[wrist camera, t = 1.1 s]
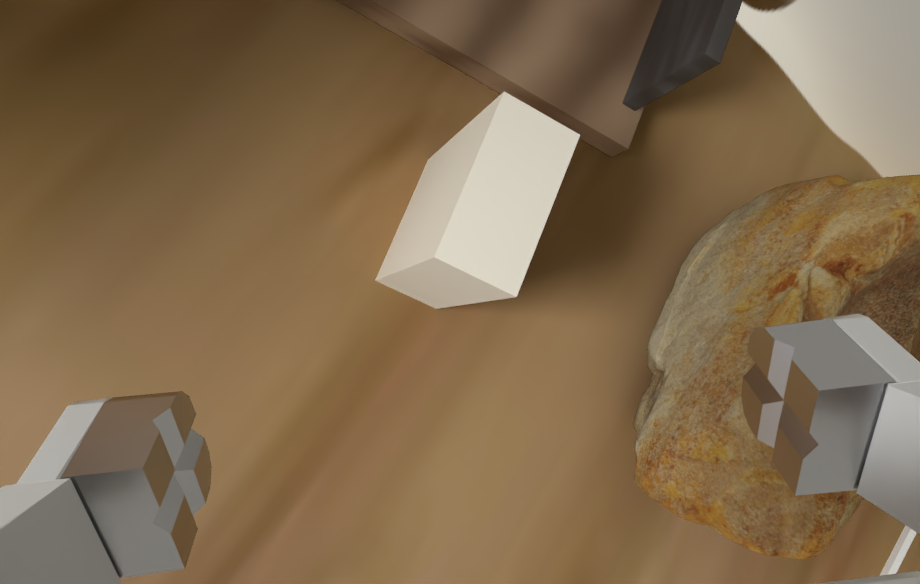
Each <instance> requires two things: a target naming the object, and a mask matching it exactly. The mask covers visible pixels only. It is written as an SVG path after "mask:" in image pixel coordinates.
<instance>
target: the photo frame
mask: <svg viewBox="0 0 920 584" xmlns="http://www.w3.org/2000/svg"><path fill="white" fill-rule="evenodd" d="M916 533H917V532H915V531H914V530H912V529H911V528H909V527H908V526H906V525H905V527H904V529H903V531H902V533H901V535H900V537H899V539H898V541H897V543H896V545H895V547H894V549H893V550H892V552H891V554H890V556H889V558H888V560H887V562H886V564H885V566H884V568H883V570H882V572H881V574H880V576H881V575H889V574H896V572H897V570H898V569H899V567H900V565H901V563H902V561H903V559H904V557H905V555H906V553H907V551H908V549H909V547H910V545H911V543H912V541H913V539H914V537H915V535H916Z"/></svg>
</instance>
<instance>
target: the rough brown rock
mask: <svg viewBox="0 0 920 584" xmlns="http://www.w3.org/2000/svg"><path fill="white" fill-rule="evenodd" d="M851 314H861V315H864V316H867V317H869V318H870V319H871V320H872V321H873V322H874V323H876V324H877V325H878V326H879V327H880V328H881V329H882V330H884V331H885V332H886V333H887V334H888V335H889V336H890V337H892V338H893V339H894V340H895V341H896V342H897V343H898V344H900V345H901V346H902V347H903V348H904V349H905V350H906V351H907V352H909V353H910V354H911V347H912V345H913V340H914V336H915V332H916V330H917V328H918V326H919V324H920V175H911V176H910V175H909V176H897V177H885V178H879V179H871V180H863V181H860V182H850V181H848V180H846V179H844V178H842V177H841V176H839V175H838V176H827V177H823V178H818V179H813V180H808V181H801V182H796V183H791V184H787V185H783V186H779V187H776V188H774V189H772V190H769V191H767V192H764V193H762V194H761V195H759V196H758V197H757V198H755V199H754V200H752V201H751V202H750V203H748V204H746V205H745V206H743V207H741V208H740V209H737V210H733V211H732V212H731V213H730V214H729V215H727V216H726V217H725V218H724V219H723V220H722V221H721V222H720V223H718V224H717V225H716V226H715V227H713V228H712V229H711V230H709V231H708V232H707V233H706V234H705V235H703V236H702V237H701V238H700V240H699V241H698V242H697V243H696V244H695V245H694V246H693V248H692V250H691V251H690V253H689V255H688V256H687V258H686V259H685V261H684V262H683V264H682V265H681V268H680V271H679V274H678V276H677V278H676V281H675V284H674V288H673V290H672V292H671V293H670V295H669V297H668V299H667V301H666V303H665V305H664V307H663V310H662V313H661V315H660V317H659V319H658V321H657V323H656V326H655V328H654V330H653V332H652V333H651V336H650V341H649V344H648V348H647V351H648V368H649V370H650V371H651V373H652V376H651V382H650V385H649V387H648V388H647V390H646V391H645V392H644V394H643V396H642V398H641V400H640V403H639V406H638V409H637V412H636V415H635V418H634V422H633V425H634V428H635V430H636V432H637V434H638V436H637V438H636V440H635V447H636V469H635V476H634V480H635V482H636V484H637V485H638V486H639V487H640V488H641V489H642V490H643V491H644V492H645V493H646V494H647V495H649V496H650V497H651V498H653V499H654V500H656V501H657V502H659V503H660V504H662V505H663V506H665V507H666V508H668V509H669V510H671V511H672V512H673V513H675V514H676V515H678V516H679V517H681V518H684V519H686V520H689V521H692V522H695V523H699V524H703V525H708V526H710V527H711V528H713V529H714V530H716V531H717V532H719V533H720V534H721V535H723V536H724V537H726V538H728V539H730V540H732V541H734V542H736V543H738V544H740V545H741V546H743V547H746V548H748V549H750V550H753V551H755V552H758V553H761V554H764V555H767V556H777V555H778V556H782V557H787V558H794V559H802V560H804V559H808V558H812V557H815V556H817V555H818V554H819V553H821V552H822V551H824V550H825V549H826V548H827V546H828V545H829V544H830V543H831V542H832V541H833V539H834V535H835V533H836V532H837V531H838V530H839V529H840V528H841V527H842V526H843V525H844V524H845V523H847V522H848V520H849V519H850V518H851V516H852V515H853V513H854V512H855V511H856V509H857V508H858V506H859V504H860V502H861V500H863V499H865V498H863V497H862V496H860V495H859V494H857V493H856V492H857V490H852V491H841V492H830V493H819V494H809V495H798V496H795V495H794V493H793V492H792V490H791V489H790V488H789V486H788V485H787V483H786V482H785V480H784V479H783V477H782V476H781V474H780V473H779V471H778V470H777V468H776V467H775V465H774V464H773V462H772V456H773V451H774V448H772V447H771V446H769V445H767V444H765V443H763V442H761V441H760V440H758V439H757V438H756V437H755V435H754V434H753V432H752V431H751V429H750V427H749V425H748V423H747V420H746V418H745V415H744V411H743V405H742V398H741V392H742V383H743V376H744V375H745V374H746V373H747V372H748V371H749V370H750V369H751V368H752V366H753V365H754V364H755V362H754V360H753V359H752V358H751V356H750V355H749V354H748V352H747V350H748V344H749V338H750V336H751V334H752V332H753V330H754V328H757V327H765V326H774V325H782V324H790V323H798V322H806V321H814V320H822V319H824V318H830V317H837V316H844V315H851ZM911 355H912V354H911Z"/></svg>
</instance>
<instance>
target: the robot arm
mask: <svg viewBox="0 0 920 584" xmlns="http://www.w3.org/2000/svg"><path fill="white" fill-rule="evenodd" d="M747 352H748V354H749V355H750V356H751V358H752V359H753V360H754V362H755V364H754V365H753V366H752V368H751V369H750V370H749V371H748V372H747V373H746V374H745V375H744V376H743V383H742V392H741V398H742V405H743V411H744V415H745V418H746V420H747V423H748V425H749V427H750V429H751V431H752V432H753V434H754V435H755V437H756V438H757V439H758V440H760V441H761V442H763V443H765V444H767V445H769V446H771V447H772V448H774V451H773V456H772V462H773V464H774V465H775V467H776V468H777V470H778V471H779V473H780V474H781V476H782V477H783V479H784V480H785V482H786V483H787V485H788V486H789V488H790V489H791V490H792V492H793V493H794V495H795V496H798V495H809V494H819V493H830V492H841V491H852V490H857V492H856V493H857V494H859V495H860V496H862V497H863V498H865V499H866V500H868V501H869V502H871V503H872V504H874V505H876V506H877V507H879V508H880V509H882V510H883V511H885V512H886V513H888V514H889V515H891V516H892V517H894V518H895V519H897V520H898V521H900V522H901V523H903V524H905V525H906V526H908V527H909V528H911V529H912V530H914V531H915V532H917V533H918V534H920V362H919V361H918V360H917V359H915V358H914V357H913V356H912V355H911V354H910V353H909V352H907V351H906V350H905V349H904V348H903V347H902V346H901V345H900V344H898V343H897V342H896V341H895V340H894V339H893V338H892V337H890V336H889V335H888V334H887V333H886V332H885V331H884V330H882V329H881V328H880V327H879V326H878V325H877V324H876V323H874V322H873V321H872V320H871V319H870V318H869V317H867V316H864V315H861V314H851V315H844V316H837V317H830V318H824V319H822V320H814V321H806V322H798V323H790V324H782V325H774V326H765V327H757V328H754V330H753V332H752V334H751V336H750V338H749V344H748V350H747ZM195 416H196V413H195V410H194V407H193V405H192V402H191V400H190V397H189V396H188V395H187V394H185V393H184V392H182V391H179V392H168V393H157V394H146V395H135V396H124V397H113V398H111V399H110V398H104V399H95V400H86V401H77V402H75V403H73V404H70V405H68V406H67V407H66V409H65V410H64V412H63V413H62V415H61V417H60V418H59V420H58V421H57V423H56V424H55V426H54V427H53V429H52V430H51V432H50V433H49V435H48V436H47V438H46V439H45V441H44V442H43V444H42V446H41V447H40V449H39V450H38V452H37V453H36V455H35V456H34V458H33V459H32V461H31V462H30V464H29V465H28V467H27V468H26V470H25V471H24V473H23V475H22V476H21V478H20V479H19V481H18V482H17V484H14V485H6V486H3V487H2V488H0V584H119V583H120V582H121V580H120V578H126V577H132V576H139V575H146V574H153V573H160V572H166V571H173V570H180V569H185V567H186V564H187V561H188V558H189V554H190V551H191V548H192V545H193V542H194V539H195V536H196V533H197V529H198V528H197V526H196V523H195V520H194V518H193V515H194V514H195V513H196V512H197V511H198V510H199V509H200V508H201V507H203V506H204V505H205V504H206V501H207V497H208V494H209V490H210V484H211V462H210V455H209V450H208V447H207V444H206V441H205V438H203V437H202V436H201V435H199V434H198V433H197V432H195V431H194V430H192V429H191V427H192V424H193V421H194V419H195ZM817 584H920V571H913V572H905V573H897V574H889V575H881V576H873V577H865V578H857V579H849V580H841V581H833V582H825V583H817Z"/></svg>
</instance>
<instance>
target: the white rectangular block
mask: <svg viewBox="0 0 920 584" xmlns="http://www.w3.org/2000/svg"><path fill="white" fill-rule="evenodd" d="M579 137H580V134H578V133H576V132H574V131H573V130H571V129H569V128H567V127H566V126H564V125H562V124H560V123H559V122H557V121H555V120H553V119H552V118H550V117H548V116H546V115H545V114H543V113H541V112H539V111H538V110H536V109H534V108H532V107H531V106H529V105H527V104H525V103H524V102H522V101H520V100H518V99H517V98H515V97H513V96H511V95H510V94H508V93H506V92H503V93H502V94H501V95H500V96H498V97H497V98H496V99H495V100H494V101H493V102H492V103H491V104H490V105H488V106H487V107H486V108H485V109H484V110H483V111H482V112H481V113H479V114H478V115H477V116H476V117H475V118H474V119H473V120H472V121H471V122H469V123H468V124H467V125H466V126H465V127H464V128H463V129H462V130H461V131H459V132H458V133H457V134H456V135H455V136H454V137H453V138H452V139H450V140H449V141H448V142H447V143H446V144H445V145H444V146H443V147H442V148H440V149H439V150H438V151H437V152H436V153H435V154H434V155H433V156H432V157H430V158H429V159H428V161H427V163H426V166H425V168H424V170H423V173H422V175H421V177H420V179H419V182H418V184H417V186H416V189H415V191H414V193H413V195H412V198H411V200H410V202H409V205H408V207H407V209H406V211H405V214H404V216H403V218H402V221H401V223H400V225H399V228H398V230H397V232H396V234H395V237H394V239H393V241H392V244H391V246H390V248H389V250H388V253H387V255H386V257H385V260H384V262H383V264H382V266H381V269H380V271H379V273H378V276H377V278H376V280H375V281H377V282H379V283H382V284H384V285H386V286H388V287H390V288H392V289H395V290H397V291H399V292H401V293H403V294H405V295H408V296H410V297H412V298H414V299H416V300H418V301H421V302H423V303H425V304H427V305H429V306H431V307H434V308H436V309H439V308H445V307H452V306H459V305H466V304H473V303H479V302H486V301H493V300H500V299H507V298H513V297H517V295H518V292H519V290H520V287H521V285H522V282H523V280H524V277H525V274H526V272H527V269H528V267H529V264H530V262H531V259H532V257H533V254H534V252H535V249H536V246H537V244H538V241H539V239H540V236H541V234H542V231H543V229H544V226H545V224H546V221H547V218H548V216H549V213H550V211H551V208H552V206H553V203H554V201H555V198H556V196H557V193H558V190H559V188H560V185H561V183H562V180H563V178H564V175H565V173H566V170H567V168H568V165H569V162H570V160H571V157H572V155H573V152H574V150H575V147H576V145H577V142H578V140H579Z"/></svg>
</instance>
